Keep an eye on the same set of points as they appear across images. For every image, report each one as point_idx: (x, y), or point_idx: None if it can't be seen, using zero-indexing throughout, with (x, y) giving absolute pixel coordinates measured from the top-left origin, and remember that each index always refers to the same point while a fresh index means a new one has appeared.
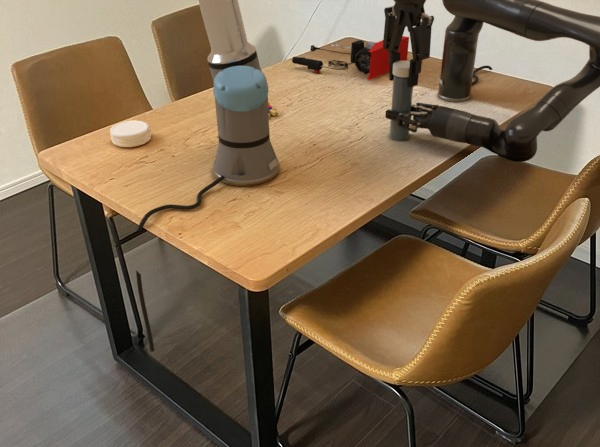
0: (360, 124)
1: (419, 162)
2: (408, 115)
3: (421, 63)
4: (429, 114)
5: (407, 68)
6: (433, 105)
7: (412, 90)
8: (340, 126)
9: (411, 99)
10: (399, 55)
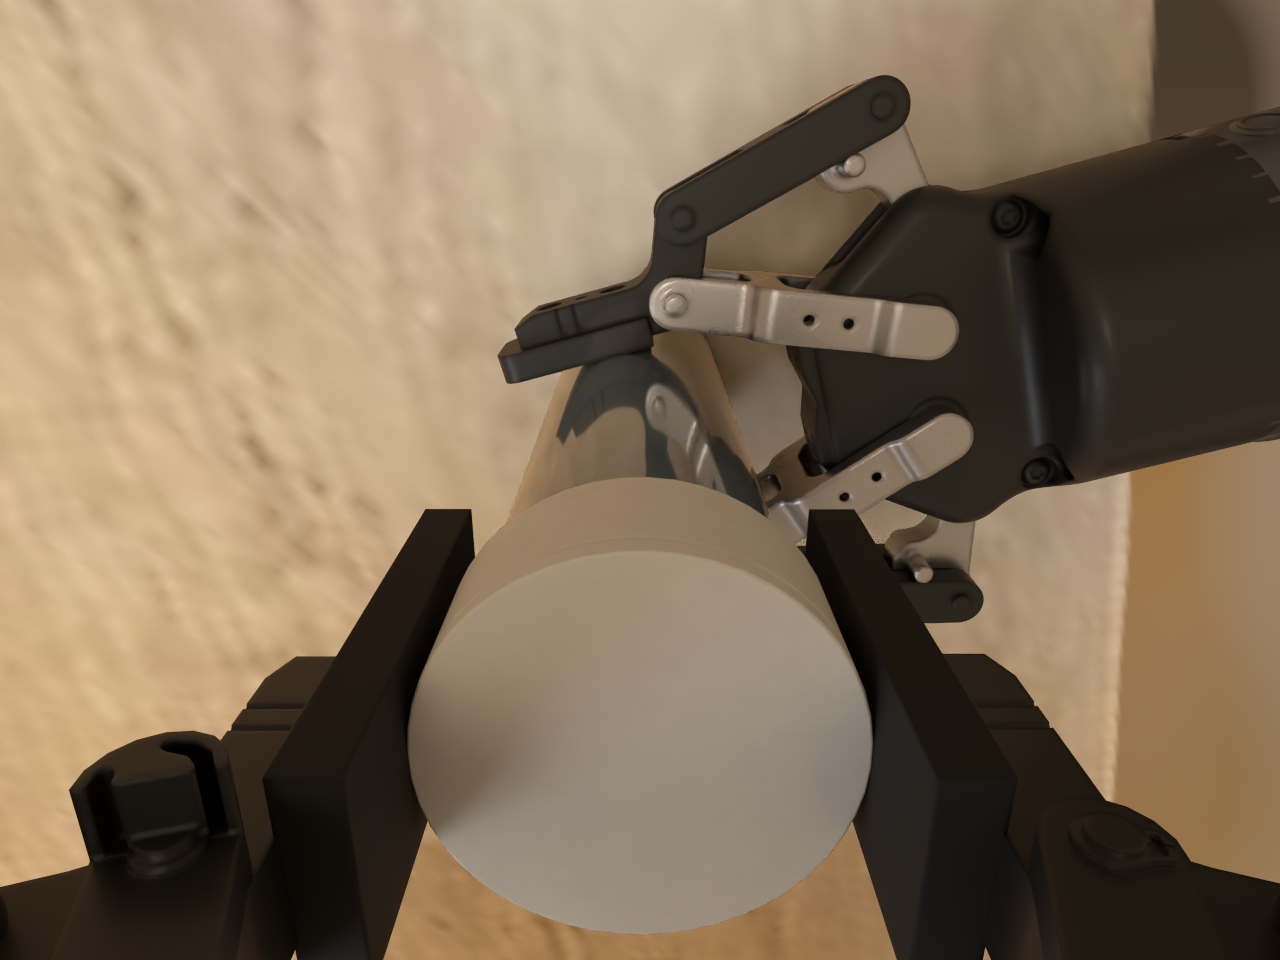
0: (277, 434)
1: (1010, 567)
2: None
3: (1088, 784)
4: (952, 361)
5: (823, 851)
6: (838, 126)
7: (755, 478)
8: (227, 566)
9: (747, 451)
10: (368, 769)
